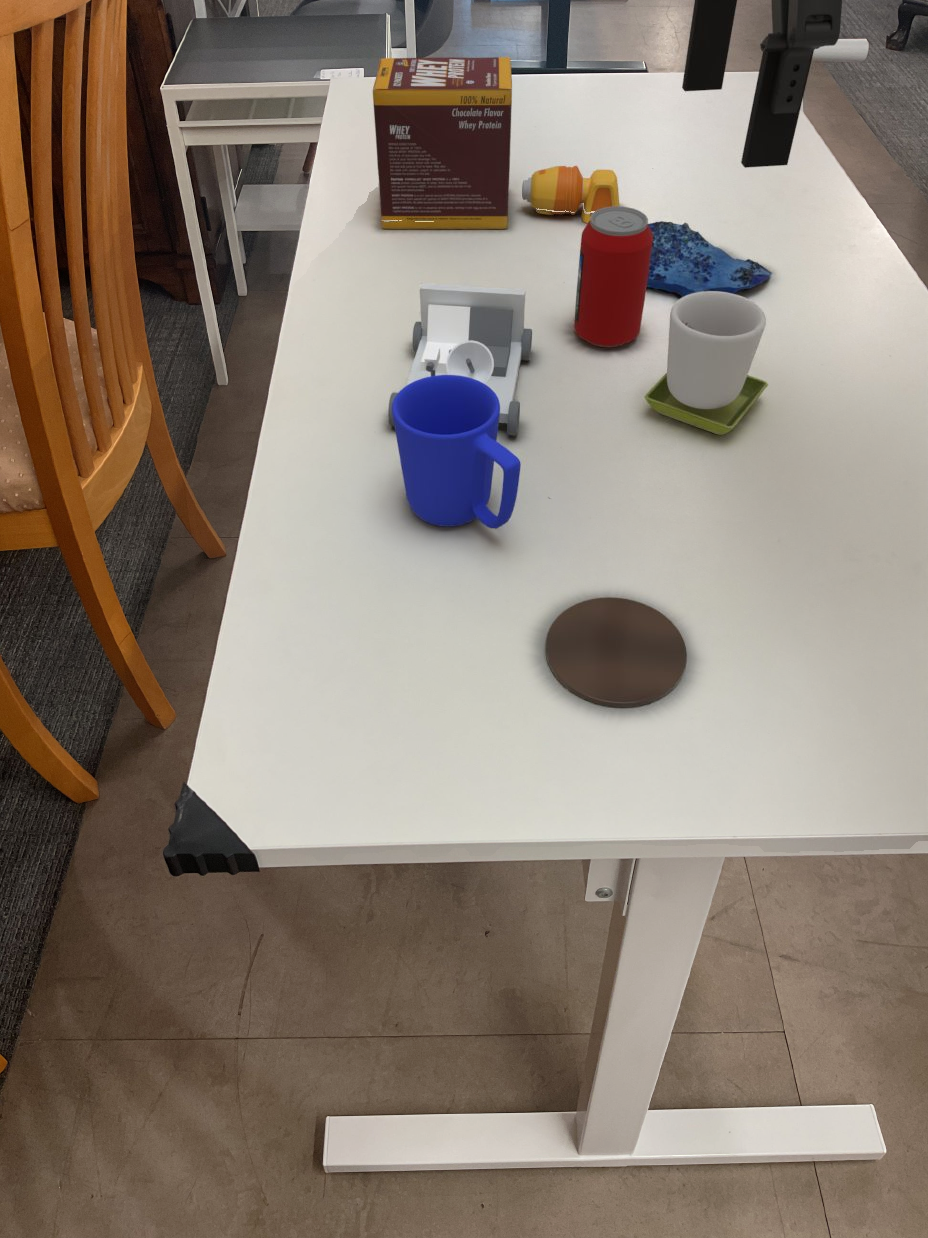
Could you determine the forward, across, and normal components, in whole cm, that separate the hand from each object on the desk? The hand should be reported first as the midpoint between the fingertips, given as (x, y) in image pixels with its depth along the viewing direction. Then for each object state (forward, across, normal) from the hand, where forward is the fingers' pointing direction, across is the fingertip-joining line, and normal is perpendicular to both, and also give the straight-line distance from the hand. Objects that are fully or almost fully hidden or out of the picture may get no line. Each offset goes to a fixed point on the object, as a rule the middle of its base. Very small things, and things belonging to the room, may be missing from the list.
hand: (730, 124), depth 63 cm
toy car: (+27, -11, -17) cm, 34 cm away
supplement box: (+27, -51, -15) cm, 60 cm away
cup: (+25, -7, +5) cm, 27 cm away
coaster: (+27, +22, -10) cm, 37 cm away
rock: (+27, -32, +10) cm, 43 cm away
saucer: (+27, -6, +5) cm, 28 cm away
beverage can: (+27, -20, -1) cm, 34 cm away
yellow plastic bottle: (+27, -48, 0) cm, 55 cm away
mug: (+27, +6, -19) cm, 34 cm away
